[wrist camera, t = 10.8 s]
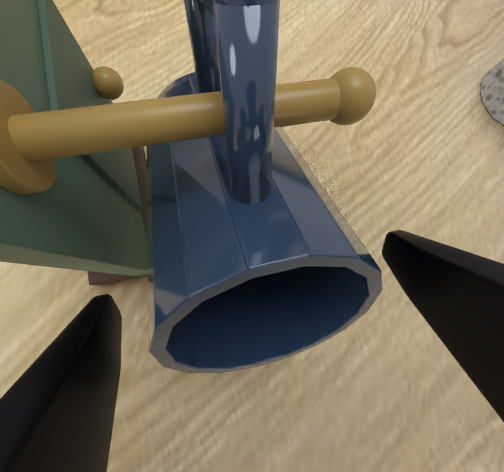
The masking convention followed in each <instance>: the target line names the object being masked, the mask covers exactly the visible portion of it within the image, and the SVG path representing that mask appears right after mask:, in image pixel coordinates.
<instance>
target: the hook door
mask: <svg viewBox="0 0 504 472" xmlns="http://www.w3.org/2000/svg"><path fill="white" fill-rule="evenodd" d="M123 88H124V86H123V81H122V79H121V77H120V76H119V74H118V73H117V72H116V71H115V70H113V69H111V68H109V67H98V68H96V69H95V70H93V69H92V67H91V65H90V63H89V62H88V60H87V58H86V57H85V55H84V53H83V52H82V50H81V48H80V46H79V45H78V43H77V41H76V40H75V38H74V36H73V34H72V33H71V31H70V29H69V28H68V26H67V24H66V23H65V21H64V19H63V17H62V16H61V14H60V12H59V11H58V9H57V7H56V5H55V4H54V2H53V0H0V261H1V262H10V263H19V264H28V265H37V266H47V267H56V268H65V269H74V270H83V271H88V278H89V284H90V285H102V284H107V283H111V282H116V281H121V280H126V279H130V278H135V277H140V276H144V275H148V219H147V165H146V159H145V153H144V147H143V146H149V145H156V144H163V143H170V142H177V141H184V140H191V139H198V138H205V137H212V136H220V135H226V134H225V124H224V113H223V103H222V93H221V91H217V92H209V93H200V94H191V95H183V96H174V97H165V98H157V99H148V100H140V101H131V102H122V103H114V104H113V103H112V101H111V100H114V99H117V98H119V97H120V96H121V94H122V93H123ZM375 96H376V88H375V83H374V81H373V79H372V77H371V76H370V74H369V73H367V72H366V71H365V70H363V69H361V68H357V67H349V68H345V69H342V70H340V71H338V72H336V73H335V74H334V75H332V76H331V77H330V78H329V79H321V80H312V81H304V82H295V83H286V84H278V85H276V92H275V114H274V128H276V127H283V126H290V125H297V124H304V123H312V122H319V121H326V120H330V121H331V122H333V123H335V124H338V125H350V124H354V123H356V122H358V121H360V120H361V119H363V118H364V117H365V116H366V115H367V114H368V112H369V111H370V110H371V108H372V106H373V104H374V101H375Z"/></svg>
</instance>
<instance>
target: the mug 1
mask: <svg viewBox="0 0 504 472" xmlns="http://www.w3.org/2000/svg"><path fill="white" fill-rule="evenodd" d="M184 3H185V9H186V15H187V22H188V28H189V35H190V41H191V47H192V54H193V60H194V66H195V72H194V73H191V74H188V75H185V76H183V77H181V78H179V79H177V80H175V81H174V82H172V83H171V84H170V85H168V86H167V87H166V88H165V89H164V90H163V91H162V92H161V94H160V95H159V96H158V98H165V97H174V96H183V95H191V94H200V93H209V92H217V91H221V93H222V103H223V113H224V124H225V134H226V135H220V136H212V137H205V138H198V139H191V140H184V141H177V142H170V143H163V144H156V145H149V146H147V219H148V328H149V352H150V353H151V354H152V355H153V356H154V357H155V358H156V360H157V361H158V362H159V363H160V364H161V365H162V366H164V367H166V368H170V369H174V370H178V371H182V372H186V373H223V372H230V371H236V370H242V369H248V368H252V367H257V366H261V365H264V364H267V363H271V362H274V361H278V360H281V359H285V358H287V357H290V356H292V355H295V354H297V353H300V352H302V351H304V350H307V349H309V348H312V347H314V346H316V345H318V344H320V343H322V342H324V341H325V340H327V339H329V338H331V337H333V336H334V335H336V334H338V333H340V332H341V331H343V330H344V329H346V328H347V327H349V326H350V325H351V324H352V323H354V322H355V321H356V320H357V319H358V318H360V317H361V316H362V315H363V314H365V313H366V312H367V311H368V310H369V309H370V307H371V306H372V304H373V303H374V301H375V300H376V299H377V297H378V296H379V294H380V293H381V291H382V278H381V270H380V268H379V267H378V265H377V264H376V262H375V261H374V259H373V258H372V257H371V255H370V254H369V252H368V251H367V249H366V248H365V246H364V245H363V244H362V242H361V241H360V239H359V238H358V236H357V235H356V234H355V232H354V231H353V229H352V228H351V226H350V225H349V223H348V222H347V221H346V219H345V218H344V216H343V215H342V213H341V212H340V211H339V209H338V208H337V206H336V205H335V203H334V202H333V200H332V199H331V198H330V196H329V195H328V193H327V192H326V190H325V189H324V188H323V186H322V185H321V183H320V182H319V180H318V179H317V177H316V176H315V175H314V173H313V172H312V170H311V169H310V167H309V166H308V165H307V163H306V162H305V160H304V159H303V157H302V156H301V154H300V153H299V152H298V150H297V149H296V147H295V146H294V144H293V143H292V142H291V140H290V139H289V137H288V136H287V134H286V133H285V131H284V130H283V129H282V127H276V128H274V114H275V92H276V71H277V49H278V28H279V6H280V0H184Z"/></svg>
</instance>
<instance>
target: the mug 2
mask: <svg viewBox="0 0 504 472" xmlns="http://www.w3.org/2000/svg"><path fill="white" fill-rule="evenodd" d="M480 92H481V98H482V101H483V103H484V106H485V107H486V109H487V111H488V112H489V113H490V115H491V116H492V117H493V118H494V119H495V120H497V121H498V122H499V123H501V124H502V125H504V59H503V60H502V61H500V62H499V63H498V64H497V65H495V66H494V67H493V68H491V69H490V70H489V71H488V72H487V73H486V74H485V75H484V77H483V79H482V82H481V88H480Z"/></svg>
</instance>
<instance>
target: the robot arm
mask: <svg viewBox="0 0 504 472" xmlns="http://www.w3.org/2000/svg"><path fill="white" fill-rule="evenodd" d="M382 255H383V258H384V260H385V261H386V263H387V264H388V266H389V268H390V269H391V271H392V273H393V274H394V276H395V277H396V279H397V281H398V282H399V284H400V286H401V287H402V289H403V290H404V292H405V293H406V295H407V296H408V297H409V299H410V300H411V302H412V303H413V304H414V305H415V307H416V308H417V309H418V311H419V312H420V313H421V315H422V316H423V317H424V319H425V320H426V321H427V322H428V324H429V325H430V326H431V328H432V329H433V330H434V332H435V333H436V334H437V336H438V337H439V338H440V339H441V341H442V342H443V343H444V345H445V346H446V347H447V349H448V350H449V351H450V353H451V354H452V355H453V356H454V358H455V359H456V360H457V362H458V363H459V364H460V366H461V367H462V368H463V370H464V371H465V372H466V373H467V375H468V376H469V377H470V379H471V380H472V381H473V383H474V384H475V385H476V387H477V388H478V389H479V390H480V392H481V393H482V394H483V396H484V397H485V398H486V400H487V401H488V402H489V404H490V405H491V406H492V407H493V409H494V410H495V411H496V413H497V414H498V415H499V417H500V418H501V419H502V421H503V422H504V264H502V263H499V262H496V261H493V260H490V259H487V258H484V257H481V256H478V255H475V254H472V253H469V252H466V251H463V250H460V249H457V248H454V247H451V246H448V245H445V244H442V243H439V242H436V241H433V240H430V239H427V238H424V237H421V236H418V235H415V234H412V233H409V232H405V231H402V230H396V231H391V232H389V233H388V234H387V235H386V238H385V242H384V245H383V249H382ZM121 330H122V317H121V313H120V311H119V309H118V307H117V305H116V303H115V302H114V300H113V298H112V296H111V295H109V294H105V295H100V296H96V297H94V298H92V299H91V300H90V301H89V303H88V304H87V305H86V306H85V307H84V308H83V309H82V310H81V311H80V312H79V313H78V315H77V316H76V317H75V318H74V319H73V320H72V321H71V322H70V323H69V324H68V325H67V327H66V328H65V329H64V330H63V331H62V332H61V333H60V334H59V335H58V336H57V338H56V339H55V340H54V341H53V342H52V343H51V344H50V345H49V346H48V347H47V348H46V350H45V351H44V352H43V353H42V354H41V355H40V356H39V357H38V358H37V359H36V360H35V362H34V363H33V364H32V365H31V366H30V367H29V368H28V369H27V370H26V371H25V373H24V374H23V375H22V376H21V377H20V378H19V379H18V380H17V381H16V382H15V383H14V385H13V386H12V387H11V388H10V389H9V390H8V391H7V392H6V393H5V394H4V395H3V397H2V398H1V399H0V472H107V465H108V458H109V450H110V443H111V436H112V429H113V421H114V414H115V407H116V400H117V393H118V385H119V378H120V369H121Z"/></svg>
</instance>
